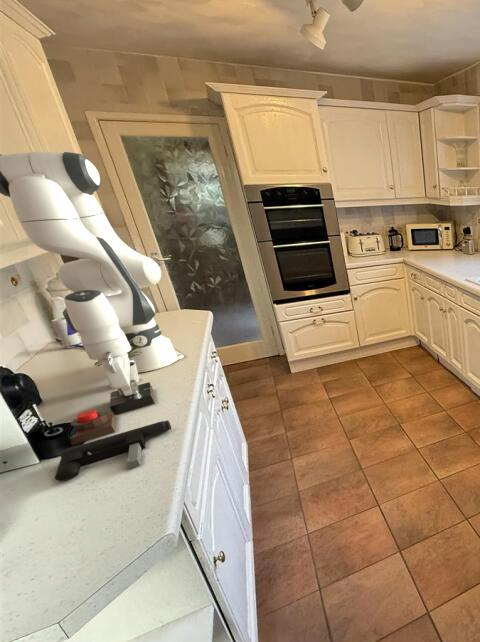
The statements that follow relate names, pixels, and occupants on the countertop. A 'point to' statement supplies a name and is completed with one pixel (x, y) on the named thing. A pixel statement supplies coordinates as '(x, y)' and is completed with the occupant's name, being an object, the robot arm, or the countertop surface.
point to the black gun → (108, 449)
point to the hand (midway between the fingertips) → (129, 390)
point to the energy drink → (66, 333)
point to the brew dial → (133, 387)
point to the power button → (87, 416)
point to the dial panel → (132, 400)
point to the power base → (94, 427)
